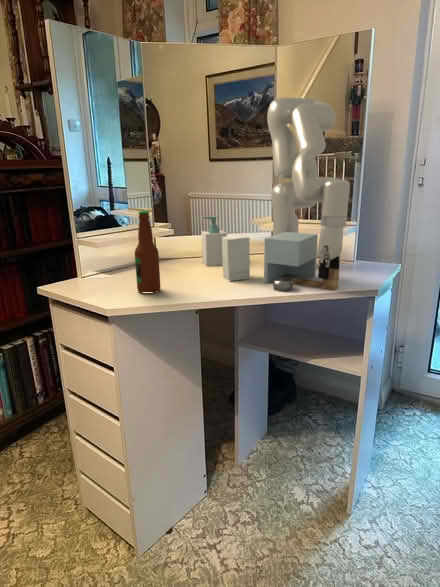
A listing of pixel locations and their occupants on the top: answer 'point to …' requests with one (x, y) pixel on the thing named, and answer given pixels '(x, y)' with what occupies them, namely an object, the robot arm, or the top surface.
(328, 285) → the brown piece
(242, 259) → the skincare box
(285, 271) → the cabinet
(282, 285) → the puck
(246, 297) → the top surface
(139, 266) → the bottle
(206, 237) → the soap bottle
